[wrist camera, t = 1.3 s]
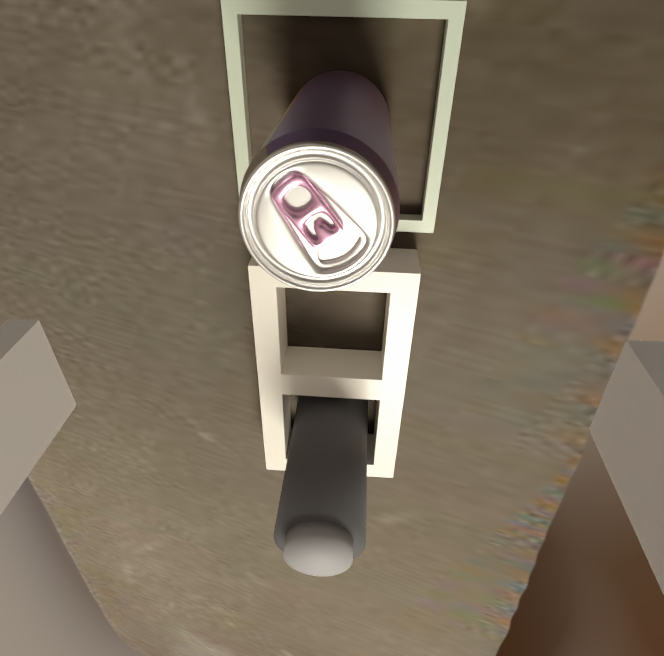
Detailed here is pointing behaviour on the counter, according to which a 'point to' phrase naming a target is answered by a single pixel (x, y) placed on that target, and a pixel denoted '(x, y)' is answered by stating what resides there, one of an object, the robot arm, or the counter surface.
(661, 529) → the robot arm
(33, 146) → the counter surface
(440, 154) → the rectangular frame
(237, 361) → the counter surface
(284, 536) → the single round plug
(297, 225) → the beverage can
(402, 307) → the white divided tray
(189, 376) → the counter surface
